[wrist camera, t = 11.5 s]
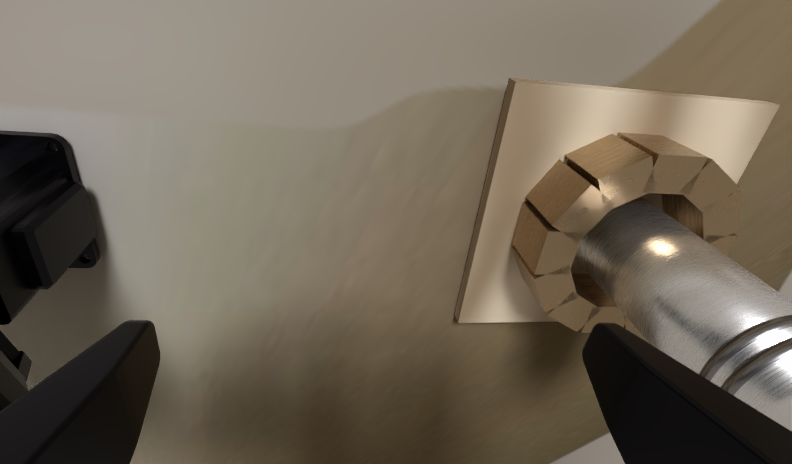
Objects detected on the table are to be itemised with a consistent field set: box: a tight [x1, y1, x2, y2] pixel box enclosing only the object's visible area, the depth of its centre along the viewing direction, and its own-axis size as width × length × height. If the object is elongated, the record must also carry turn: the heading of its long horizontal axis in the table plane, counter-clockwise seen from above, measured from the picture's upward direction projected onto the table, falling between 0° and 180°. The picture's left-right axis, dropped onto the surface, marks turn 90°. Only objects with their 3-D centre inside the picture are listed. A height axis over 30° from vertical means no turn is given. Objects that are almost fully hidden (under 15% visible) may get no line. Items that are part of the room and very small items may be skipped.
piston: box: [575, 196, 792, 431], centre depth 18 cm, size 5×5×12 cm
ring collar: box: [511, 132, 741, 333], centre depth 22 cm, size 10×10×3 cm
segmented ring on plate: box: [455, 78, 780, 323], centre depth 24 cm, size 14×14×1 cm
